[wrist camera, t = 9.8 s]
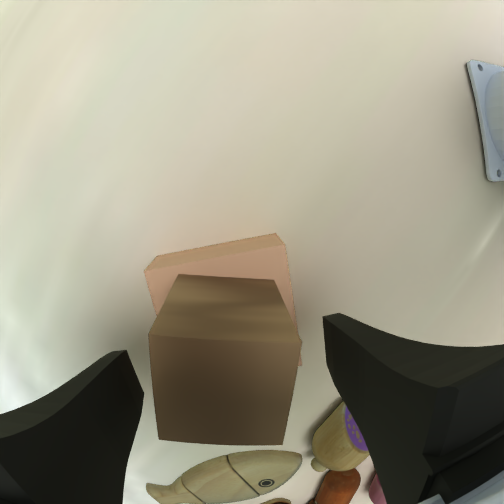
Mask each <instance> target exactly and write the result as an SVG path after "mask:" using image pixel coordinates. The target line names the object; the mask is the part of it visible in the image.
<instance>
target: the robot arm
mask: <svg viewBox="0 0 504 504" xmlns="http://www.w3.org/2000/svg"><path fill="white" fill-rule="evenodd" d="M467 68H468V72H469V76H470V79H471V84H472V88H473V92H474V96H475V101H476V106H477V111H478V116H479V122H480V127H481V134H482V140H483V147H484V155H485V164H486V174H487V178H488V180H490V181H494V182H495V181H504V67H502V66H498V65H494V64H490V63H485V62H481V61H476V60H470V61H468V62H467ZM478 68H479V69H478ZM323 328H324V339H325V350H326V363H327V366H328V369H329V372H330V374H331V377H332V380H333V382H334V385H335V387H336V388H337V390H338V392H339V394H340V396H341V397H342V399H343V401H344V403H345V405H346V406H347V408H348V410H349V412H350V413H351V415H352V417H353V419H354V421H355V422H356V424H357V426H358V428H359V430H360V432H361V434H362V436H363V438H364V441H365V443H366V446H367V448H368V451H369V453H370V456H371V459H372V461H373V464H374V467H375V470H376V472H377V475H378V478H379V481H380V484H381V487H382V490H383V493H384V496H385V499H386V503H387V504H504V344H503V345H494V346H484V347H454V346H443V345H434V344H428V343H422V342H418V341H413V340H409V339H405V338H402V337H398V336H395V335H392V334H389V333H386V332H384V331H381V330H378V329H376V328H373V327H371V326H369V325H366V324H364V323H362V322H360V321H357V320H355V319H353V318H351V317H348V316H346V315H344V314H341V313H336V314H332V315H328V316H323ZM143 398H144V392H143V389H142V387H141V385H140V382H139V380H138V378H137V375H136V373H135V370H134V368H133V365H132V363H131V360H130V358H129V355H128V353H127V350H121V351H112V352H110V353H108V354H107V355H105V356H103V357H102V358H100V359H99V360H97V361H96V362H95V363H93V364H92V365H90V366H89V367H88V368H86V369H85V370H84V371H82V372H81V373H79V374H78V375H77V376H75V377H74V378H72V379H71V380H69V381H68V382H66V383H65V384H63V385H62V386H60V387H59V388H57V389H56V390H54V391H52V392H51V393H49V394H47V395H45V396H43V397H42V398H40V399H38V400H36V401H34V402H32V403H29V404H27V405H24V406H22V407H20V408H17V409H15V410H12V411H9V412H6V413H3V414H0V504H122V503H123V489H124V481H125V473H126V467H127V462H128V458H129V455H130V451H131V448H132V445H133V441H134V438H135V434H136V431H137V428H138V424H139V421H140V417H141V413H142V406H143Z"/></svg>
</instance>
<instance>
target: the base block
mask: <svg viewBox="0 0 504 504" xmlns="http://www.w3.org/2000/svg"><path fill="white" fill-rule="evenodd" d="M144 273H145V277H146V280H147V284H148V288H149V291H150V295H151V298H152V302H153V305H154V308H155V312H156V315H157V316H158V314H159V312H160V310H161V308H162V305H163V303H164V301H165V299H166V297H167V295H168V294H169V292H170V290H171V288H172V286H173V284H174V282H175V280H176V278H177V276H178V274H188V275H203V276H218V277H235V278H252V279H270V280H274V281H275V283H276V285H277V287H278V290H279V292H280V294H281V296H282V299H283V301H284V303H285V305H286V308H287V310H288V312H289V314H290V317H291V319H292V321H293V323H294V326H295V328H296V330H297V323H296V316H295V309H294V302H293V295H292V288H291V281H290V274H289V268H288V261H287V255H286V248H285V244H284V243H283V241H282V240H281V239H280V238H279V236H278V235H277V234H276V233H274V234H269V235H263V236H258V237H253V238H247V239H242V240H237V241H231V242H226V243H221V244H216V245H210V246H205V247H200V248H195V249H190V250H185V251H179V252H174V253H169V254H164V255H159V256H157V257H156V258H155V259H154V260H153V261H152V262H151V264H150V265H149V266H148V267H147V268H146V269H145V270H144ZM297 332H298V331H297ZM298 366H302V361H301V353H300V357H299V363H298Z"/></svg>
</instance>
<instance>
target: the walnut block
mask: <svg viewBox="0 0 504 504" xmlns="http://www.w3.org/2000/svg"><path fill="white" fill-rule="evenodd" d="M148 335H149V351H150V364H151V376H152V387H153V397H154V406H155V414H156V422H157V430H158V437H159V440H167V441H177V442H187V443H200V444H216V445H283V440H284V435H285V431H286V426H287V421H288V416H289V411H290V406H291V401H292V396H293V390H294V385H295V380H296V374H297V369H298V363H299V357H300V351H301V345H302V341H301V339H300V337H299V335H298V332H297V330H296V328H295V326H294V323H293V321H292V319H291V317H290V314H289V312H288V310H287V308H286V305H285V303H284V301H283V299H282V296H281V294H280V292H279V290H278V287H277V285H276V283H275V281H274V280H270V279H252V278H235V277H218V276H203V275H188V274H178V276H177V278H176V280H175V282H174V284H173V286H172V288H171V290H170V292H169V294H168V295H167V297H166V299H165V301H164V303H163V305H162V308H161V310H160V312H159V314H158V316H157V318H156V320H155V322H154V324H153V326H152V328H151V330H150V332H149V334H148Z"/></svg>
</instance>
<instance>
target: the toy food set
mask: <svg viewBox="0 0 504 504" xmlns="http://www.w3.org/2000/svg"><path fill="white" fill-rule="evenodd" d="M312 450H313V454H314V456H315V458H314V459H313V460H312V461H311V466H312V468H313V469H314V470H315V471H318V472H323V471H325V470H326V469H330V471H329V472H328V473H327V474H326V476H325V478H324V480H323V483H322V485H321V487H320V489H319V491H318V493H317V495H316V497H315V499H312V500H311V501H310V502H309V503H308V504H349V503H350V501H351V499H352V498H353V496H354V494H355V493H356V491H357V489H358V487H359V486H360V482H361V477H360V474H359V472H358V471H357V470H356V469H355V467H356V466H358V465H359V464H360V463H361V462H362V461H364V460H365V459H366V458H367V457H368V456H369V455H370V453H369V451H368V448H367V446H366V443H365V441H364V438H363V436H362V434H361V432H360V430H359V428H358V426H357V424H356V422H355V421H354V419H353V417H352V415H351V413H350V412H349V410H348V408H347V406H346V405H345V403H344V401H343V402H342V403H341V404H340V405H339V406H338V407H337V408H336V409H335V411H334V412H333V413H332V414H331V415H330V416H329V417H328V418H327V419H326V421H325V422H324V423H323V424H322V425H321V426H320V427H319V428H318V429H317V431H316V432H315V434H314V437H313V440H312ZM301 464H302V456H301V455H300V454H299V453H295V452H289V451H278V450H256V451H245V452H238V453H232V454H228V455H224V456H220V457H217V458H214V459H211V460H208V461H205V462H203V463H201V464H198V465H196V466H194V467H193V468H191V469H189V470H188V471H186V472H185V473H183V474H182V476H180V477H179V478H178V479H177V480H176V481H175V482H174V483H173V484H171V485H169V486H162V485H156V484H150V483H147V484H146V490H147V492H148V494H149V495H151V496H152V497H153V498H154V499H155V500H156V501H158V502H159V503H160V504H180V503H189V504H220V503H231V502H237V501H243V500H248V499H252V498H255V497H259V496H260V495H264V494H267V493H269V492H271V491H273V490H275V489H277V488H278V487H280V486H281V485H283V484H284V483H286V482H287V481H288V480H289V479H290V478H291V477H292V476H293V475H294V474H295V473H296V472H297V470H298V469H299V468H300V466H301ZM369 496H370V499H371V501H372V502H373V503H374V504H387V503H386V499H385V496H384V493H383V490H382V487H381V484H380V481H379V478H378V475H377V472H376V475H375V477H374V479H373V481H372V483H371V485H370V488H369ZM261 504H291V501H290V500H288V499H285V498H275V499H272V500H269V501H266V502H264V503H261Z"/></svg>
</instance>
